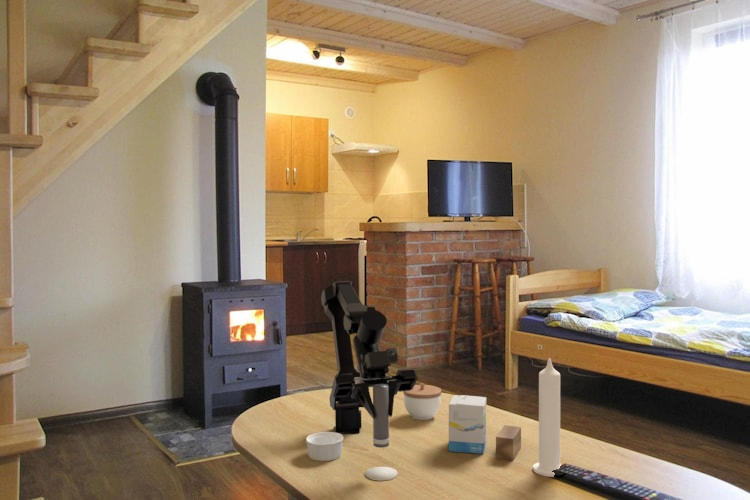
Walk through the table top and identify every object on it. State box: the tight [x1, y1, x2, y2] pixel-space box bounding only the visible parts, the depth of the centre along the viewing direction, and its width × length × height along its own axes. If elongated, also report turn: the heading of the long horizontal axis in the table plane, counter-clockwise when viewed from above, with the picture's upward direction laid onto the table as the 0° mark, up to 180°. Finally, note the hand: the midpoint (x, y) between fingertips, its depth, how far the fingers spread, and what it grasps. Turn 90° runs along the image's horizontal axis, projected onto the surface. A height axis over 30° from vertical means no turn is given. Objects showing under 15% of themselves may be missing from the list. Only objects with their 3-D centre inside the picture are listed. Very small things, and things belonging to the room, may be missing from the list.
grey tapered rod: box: [372, 384, 390, 448], centre depth 137 cm, size 4×4×13 cm
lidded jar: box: [402, 383, 442, 421], centre depth 178 cm, size 11×11×9 cm
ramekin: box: [305, 431, 344, 462], centre depth 149 cm, size 9×9×4 cm
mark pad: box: [364, 466, 398, 482], centre depth 138 cm, size 7×7×1 cm
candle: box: [532, 357, 562, 478], centre depth 138 cm, size 7×7×25 cm
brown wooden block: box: [495, 425, 522, 461], centre depth 149 cm, size 4×9×5 cm, turn 156°
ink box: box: [448, 394, 487, 455], centre depth 154 cm, size 8×8×12 cm
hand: (382, 416), depth 136 cm, fingers closed on grey tapered rod, 3 cm apart
